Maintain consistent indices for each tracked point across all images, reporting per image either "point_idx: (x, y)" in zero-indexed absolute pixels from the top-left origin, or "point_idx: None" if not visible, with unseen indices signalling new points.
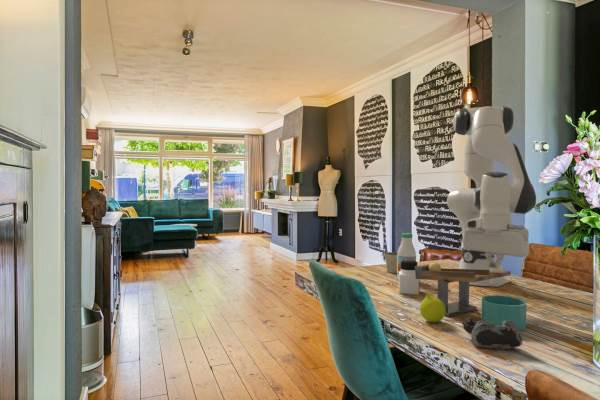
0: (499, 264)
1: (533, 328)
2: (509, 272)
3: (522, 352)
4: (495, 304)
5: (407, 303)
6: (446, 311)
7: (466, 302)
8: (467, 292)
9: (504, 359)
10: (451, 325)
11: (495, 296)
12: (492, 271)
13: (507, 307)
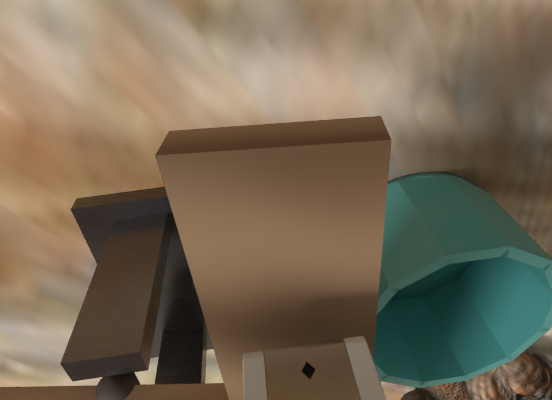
0: (375, 382)
1: (511, 176)
2: (386, 157)
3: (538, 345)
4: (457, 380)
5: (8, 359)
6: (209, 337)
7: (167, 241)
8: (161, 281)
9: None
10: None
11: (384, 301)
12: (187, 230)
13: (500, 356)
